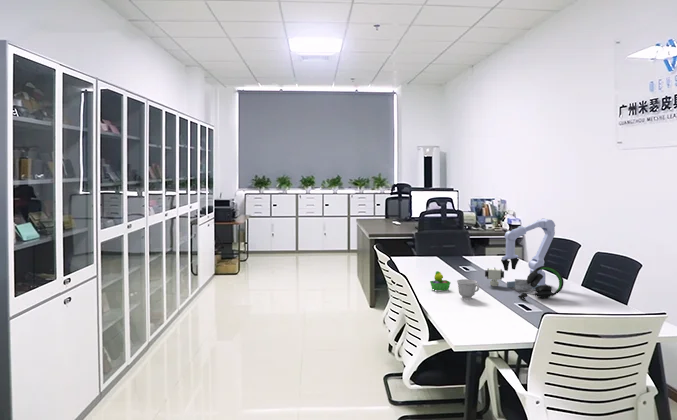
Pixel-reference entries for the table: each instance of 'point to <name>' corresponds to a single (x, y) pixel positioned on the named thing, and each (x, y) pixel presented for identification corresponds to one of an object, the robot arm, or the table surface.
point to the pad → (522, 291)
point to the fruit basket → (439, 282)
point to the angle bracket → (522, 285)
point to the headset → (545, 289)
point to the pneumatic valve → (494, 275)
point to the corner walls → (512, 284)
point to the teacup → (467, 288)
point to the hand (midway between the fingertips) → (509, 269)
